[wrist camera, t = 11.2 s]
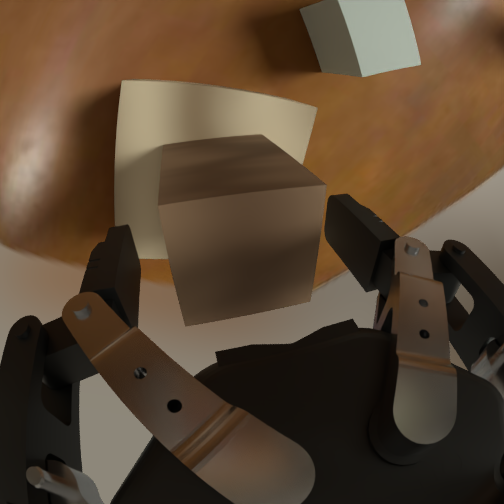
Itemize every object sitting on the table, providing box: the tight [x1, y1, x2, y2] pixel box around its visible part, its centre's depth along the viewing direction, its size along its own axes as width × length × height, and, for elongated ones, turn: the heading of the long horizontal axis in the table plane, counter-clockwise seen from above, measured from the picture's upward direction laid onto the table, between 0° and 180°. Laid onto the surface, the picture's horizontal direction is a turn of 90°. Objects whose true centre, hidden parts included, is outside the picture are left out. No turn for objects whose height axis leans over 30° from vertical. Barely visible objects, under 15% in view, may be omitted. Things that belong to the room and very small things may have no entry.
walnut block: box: [158, 134, 327, 326], centre depth 12 cm, size 5×5×7 cm
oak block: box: [114, 79, 317, 259], centre depth 17 cm, size 10×10×5 cm
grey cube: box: [299, 0, 421, 77], centre depth 13 cm, size 5×5×5 cm
